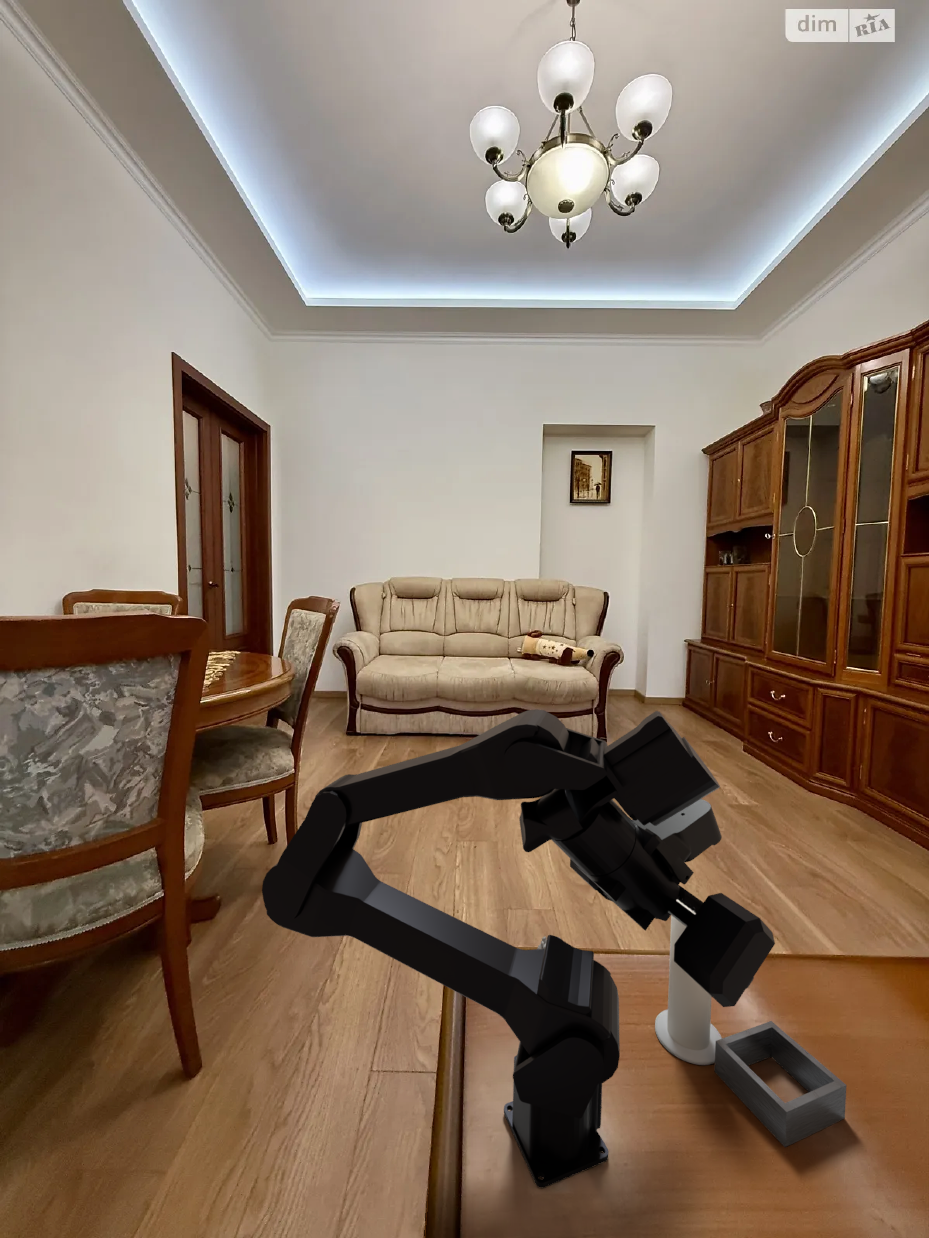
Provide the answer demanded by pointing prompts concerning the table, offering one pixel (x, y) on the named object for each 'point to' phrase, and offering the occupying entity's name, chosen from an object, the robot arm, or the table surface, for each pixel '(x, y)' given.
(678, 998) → the cream peg
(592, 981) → the robot arm
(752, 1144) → the table surface
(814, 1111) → the frame
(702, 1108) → the table surface
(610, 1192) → the table surface
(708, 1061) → the white oval disc
